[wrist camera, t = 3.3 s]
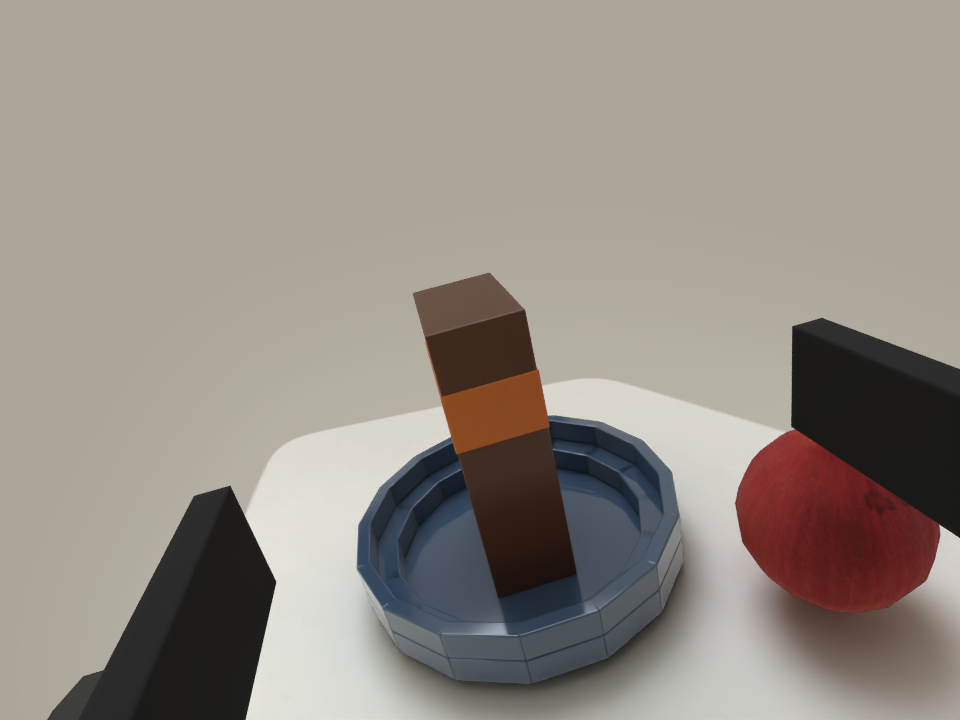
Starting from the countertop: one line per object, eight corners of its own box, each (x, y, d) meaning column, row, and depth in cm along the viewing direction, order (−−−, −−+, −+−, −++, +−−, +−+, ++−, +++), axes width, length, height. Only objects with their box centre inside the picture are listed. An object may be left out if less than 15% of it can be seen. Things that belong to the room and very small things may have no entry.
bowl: (604, 435, 33) (598, 391, 32) (756, 621, 20) (754, 560, 19) (375, 503, 32) (360, 461, 31) (378, 749, 19) (351, 692, 18)
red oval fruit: (890, 542, 22) (909, 363, 19) (959, 677, 17) (1000, 464, 14) (731, 537, 24) (723, 375, 21) (751, 657, 19) (745, 467, 16)
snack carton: (538, 491, 29) (490, 271, 24) (579, 574, 23) (527, 309, 18) (472, 511, 28) (411, 292, 24) (497, 600, 23) (423, 337, 18)
